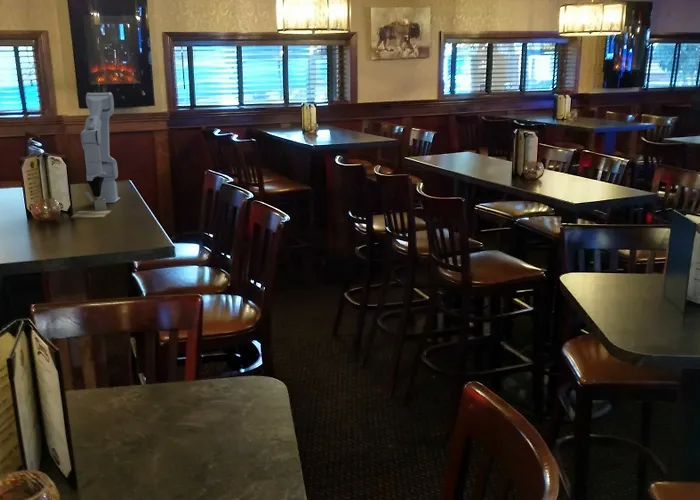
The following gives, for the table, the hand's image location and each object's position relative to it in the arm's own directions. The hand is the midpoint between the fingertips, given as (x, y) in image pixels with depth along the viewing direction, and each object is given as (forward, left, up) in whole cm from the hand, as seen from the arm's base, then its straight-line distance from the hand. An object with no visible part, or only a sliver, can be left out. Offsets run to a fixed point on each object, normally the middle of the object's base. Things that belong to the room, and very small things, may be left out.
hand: (97, 196), depth 266 cm
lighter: (+2, 0, -5) cm, 6 cm away
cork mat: (+9, 0, -5) cm, 11 cm away
